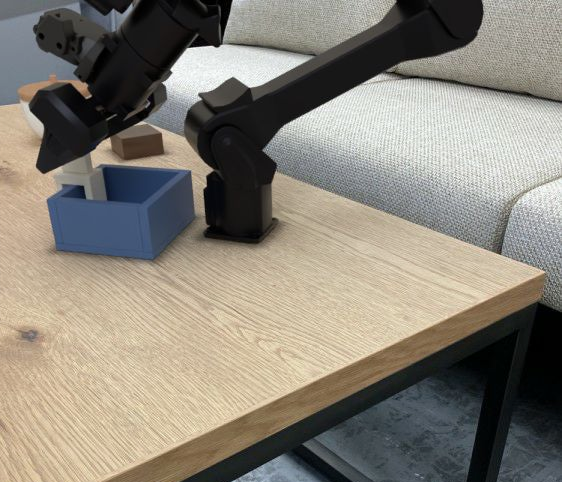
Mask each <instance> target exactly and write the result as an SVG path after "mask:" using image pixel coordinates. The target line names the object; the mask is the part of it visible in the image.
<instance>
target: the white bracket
mask: <svg viewBox="0 0 562 482" xmlns="http://www.w3.org/2000/svg"><path fill="white" fill-rule="evenodd" d="M91 155H92V154H91V152H90V153H88V154H87V155H85V156H83V157H81V158H78V159H76V160H74V161H72V162H70V163H67V164H65V165H63V166H61V169H60V170H58V171H56V172H55V173H54V174H53V180H54V184H55V190H56V193H57V192H59V191H60V190H62V189H63V188H65V187H66V186H68V185H81V186H84V188H85V194H86V199H90V200H102V201H107V196H106V190H105V183H104V178H103V171H102V169H100V168H96V167H93V161H92V156H91Z"/></svg>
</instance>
